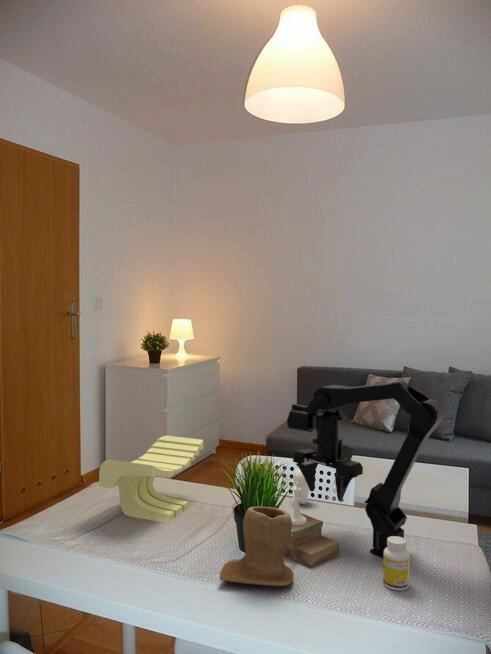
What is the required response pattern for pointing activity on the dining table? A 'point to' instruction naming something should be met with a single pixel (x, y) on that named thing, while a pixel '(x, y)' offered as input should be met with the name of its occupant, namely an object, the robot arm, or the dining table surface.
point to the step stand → (310, 543)
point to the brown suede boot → (262, 549)
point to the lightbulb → (301, 485)
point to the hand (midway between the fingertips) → (325, 495)
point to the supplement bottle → (396, 564)
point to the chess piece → (297, 507)
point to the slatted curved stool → (150, 478)
